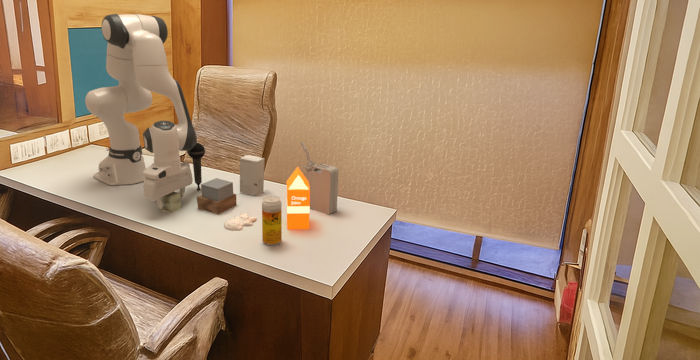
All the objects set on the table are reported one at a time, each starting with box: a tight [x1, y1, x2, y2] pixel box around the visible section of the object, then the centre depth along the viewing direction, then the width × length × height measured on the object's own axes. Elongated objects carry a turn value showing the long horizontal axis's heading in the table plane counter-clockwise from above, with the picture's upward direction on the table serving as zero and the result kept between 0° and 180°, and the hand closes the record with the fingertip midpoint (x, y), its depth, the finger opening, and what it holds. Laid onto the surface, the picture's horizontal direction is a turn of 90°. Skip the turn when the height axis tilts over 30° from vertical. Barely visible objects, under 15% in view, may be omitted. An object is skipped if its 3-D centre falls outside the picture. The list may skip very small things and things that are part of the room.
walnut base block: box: [196, 192, 238, 216], centre depth 177 cm, size 10×10×5 cm
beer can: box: [261, 195, 283, 247], centre depth 151 cm, size 6×6×15 cm
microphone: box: [186, 142, 206, 192], centre depth 189 cm, size 7×7×20 cm
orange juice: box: [286, 166, 311, 230], centre depth 164 cm, size 8×9×20 cm
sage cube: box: [160, 191, 182, 213], centre depth 173 cm, size 5×5×6 cm
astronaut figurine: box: [223, 212, 257, 232], centre depth 165 cm, size 9×12×3 cm
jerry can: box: [300, 141, 339, 215], centre depth 178 cm, size 15×5×25 cm, turn 54°
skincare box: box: [239, 154, 265, 197], centre depth 191 cm, size 8×6×15 cm
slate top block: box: [200, 177, 234, 202], centre depth 175 cm, size 8×8×5 cm
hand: (171, 203), depth 173 cm, fingers open, 8 cm apart
